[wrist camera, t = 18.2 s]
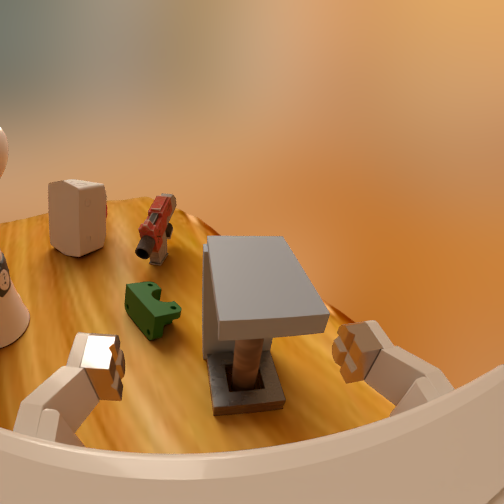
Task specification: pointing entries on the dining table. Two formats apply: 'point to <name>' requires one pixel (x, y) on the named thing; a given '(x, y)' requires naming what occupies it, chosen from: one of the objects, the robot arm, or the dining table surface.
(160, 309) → the clamp
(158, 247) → the toy gun
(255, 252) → the gray cantilever bracket
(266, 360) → the socket
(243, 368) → the peg
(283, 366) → the dining table surface
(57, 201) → the electrical switch box
